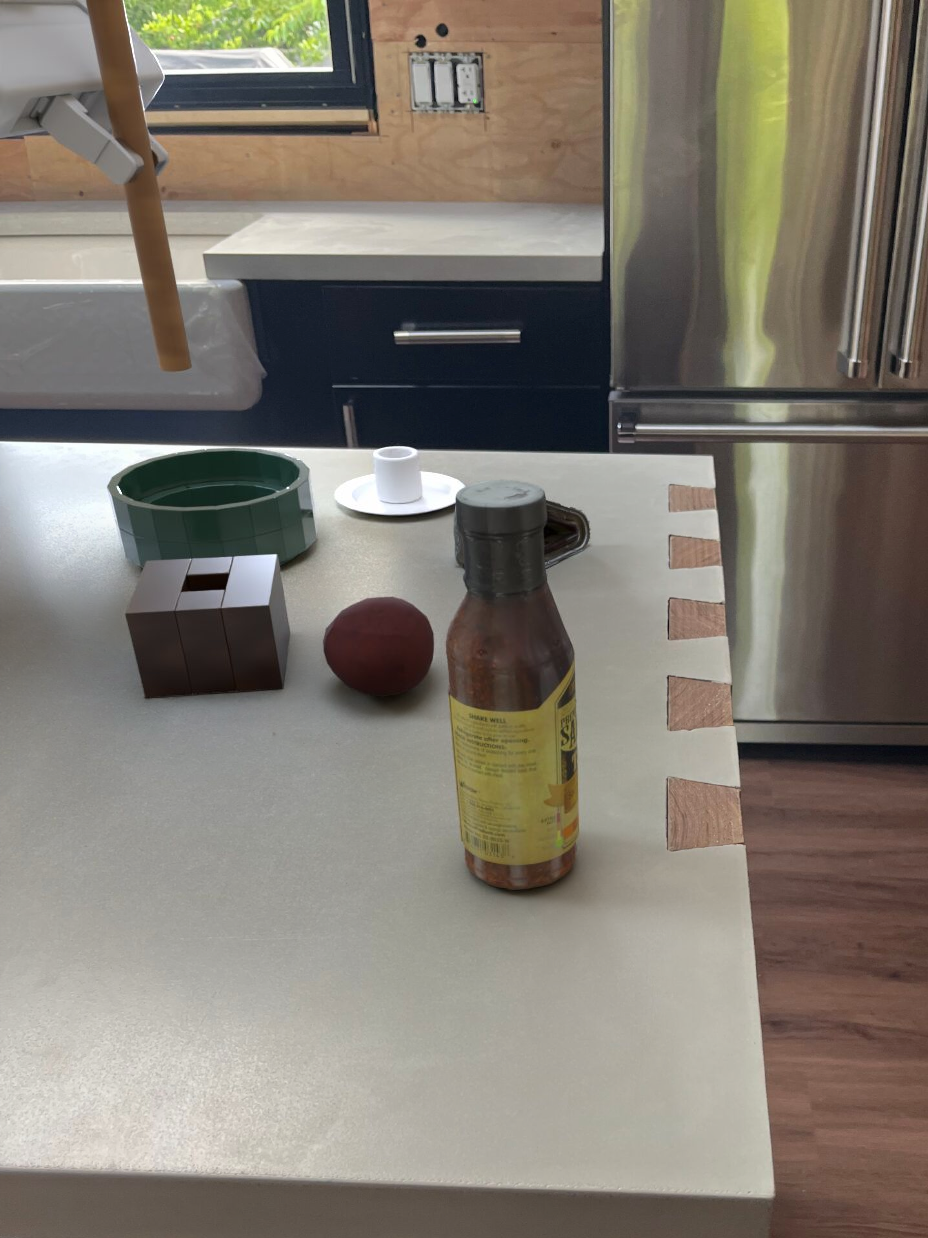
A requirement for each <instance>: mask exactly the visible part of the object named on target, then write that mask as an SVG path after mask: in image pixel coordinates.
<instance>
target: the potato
mask: <svg viewBox="0 0 928 1238" xmlns="http://www.w3.org/2000/svg"><path fill="white" fill-rule="evenodd" d="M322 649H323V655H324V658H325V661H326V664H327V665H328V667H329V669H330V670H331V672H333V674H334V675H335V676H336V678H338V679H339V680H340V681H341V682H342V683H343V684H344V685H345V686H346V687H348V688H349V689H351V690H354V691H356V692H358V693H360V694H362V695H365V696H375V697H386V696H395V695H396V696H397V695H400V694H403V693H406V692H409V691H411V690H413V689H414V688H416V687H417V686H419V685H420V684H421V682H423V680H424V679H425V678H426V677H427V675H428V674H429V671H430V669H431V666H432V663H433V660H434V652H435V633H434V631H433V628H432V625H431V622H430V620H429V618H428V616H427V615H426V614H425V613H423V611H421V610H420V609H419V608H418V607H417V606H415V605H414V604H413V603H411V602H409V601H408V600H405V599H403V598H399V597H397V596H396V597H395V596H380V597H379V596H377V597H366V598H364V599H361V600H360V601H357V602H355V603H353V604H351V605H349V606H347V607H346V608H344V609H342V610H340V612H339V613H338V614H337V616H335V617H334V619H333V620H331V622H330V623H329V624H328V625H327V627H325V631H324V635H323V639H322Z"/></svg>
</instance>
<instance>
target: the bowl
mask: <svg viewBox="0 0 928 1238" xmlns="http://www.w3.org/2000/svg"><path fill="white" fill-rule="evenodd" d="M310 470H311V469H310V468H309V466H308V465H307V464H305V462H303V460H301V459H299V458H296V457H294V456H292V455H290V454H287V453H283V452H279V451H278V452H277V451H272V450H267V449H261V448H245V447H244V448H243V447H221V448H219V447H218V448H201V449H194V450H186V451H178V452H173V453H169V454H163V455H160V456H156V457H150V458H148V459H145V460H142V461H139V462H137V463H134V464H131V465H128V466H127V467H125V468H124V469H122V470H120V471H119V472H117V473H116V474H114V475H113V476H111V478H110V480H109V482H108V483H107V485H106V489H107V493H108V498H109V502H110V506H111V511H112V514H113V518H114V523H115V526H116V532H117V535H118V540H119V544H120V548H121V550H122V553H123V555H124V557H125V559H126V560H128V561H129V562H131V563H133V564H134V565H136V566H138V567H140V568H142V569H143V568H144V566H145V563H146V561H154V560H173V559H197V558H216V557H233V558H234V556H253V555H273V554H278V559H279V565H280V566H282V565H285V564H286V563H289V562H290V561H292V560H293V559H295V558H296V557H298V556H299V555H300V554H301V553H303V552H305V551H307V549H309V548H310V547H311V545H313V543H314V542H316V540H317V538H318V521H317V520H318V519H317V513H316V505H315V499H314V491H313V485H312V477H311V471H310Z"/></svg>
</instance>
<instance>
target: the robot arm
mask: <svg viewBox="0 0 928 1238" xmlns="http://www.w3.org/2000/svg"><path fill="white" fill-rule="evenodd" d="M128 27H129V32H130V37H131V43H132V48H133V54H134V59H135V64H136V70H137V75H138V80H139V86H140V91H141V97H142V102H143V107H144V111H146V110H147V108H148V106H149V105H150V103H151V102H152V100H153V99H154V98H155V96H156V94H157V92H158V91H159V90H160V88H161V86H162V85H163V83H164V80H165V74H164V71H163V68H162V66H161V65H160V63H159V60H158V58H157V57H156V54H154V52H153V51H152V49H150V47H149V46H148V45H147V43H146V42H145V41H144V40H143V39H142V37H140V35H139V34H138V32H136V30H134V28H133V27H132V26H131V25H130V23H128ZM43 132H47V133H48V135H50V136H51V138H53V139H54V140H55V141H56V142H57V143H58V144H59V145H61V146H62V147H64V148H66V149H67V150H69V151H71V152H72V153H74V154H76V155H77V156H79V157H80V158H82V159H84V160H86V161H88V162H89V163H91V164H93V165H95V166H96V167H97V168H98V169H99V170H100V171H101V172H102V173H103V174H104V175H105V176H106V177H107V178H108V179H110V181H111V182H112V183H113V184H115V185H117V186H123V184H127V183H131V182H134V181H135V180H136V178H137V177H138V174H139V173H140V172H141V171H142V169H143V168H144V162H143V159H142V157H141V156H140V155H139V154H138V153H136V152H135V151H133V149H132V147H131V146H130V145H129V144H128V143H127V142H126V141H125V140H124V139H123V138H118V139H115V138H114V137H113V134H112V129H111V124H110V119H109V114H108V109H107V104H106V99H105V94H104V89H103V84H102V79H101V74H100V69H99V64H98V59H97V54H96V49H95V44H94V39H93V34H92V29H91V24H90V20H89V15H88V10H87V5H86V0H0V139H4V138H10V137H11V138H12V137H17V136H23V135H31V134H35V133H43ZM148 134H149V139H150V145H151V150H152V156H153V161H154V166H155V172H156V177H159V176H160V175H161V174H162V173H163V171H164V170H165V169H166V167H167V166H168V164H169V163H170V155H169V153H168V151H167V150H166V149H165V147H163V146H162V144H161V143H159V141H158V140H157V139H156V138H155V137H154V136H152V134H151V133H150V131H149V130H148Z"/></svg>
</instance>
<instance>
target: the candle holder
mask: <svg viewBox="0 0 928 1238" xmlns="http://www.w3.org/2000/svg"><path fill="white" fill-rule="evenodd" d="M372 463H373V472H374V473H372V474H367V475H363V476H359V477H356V478H353V479H351V480H348V481H346V482H345V483H343V484H341V485H339V487H338V488H337V489H335V492H334V499H335V500H336V502H337V503H338V504H340V506H343V507H344V508H347V509H350V510H353V511H355V512H360V513H364V514H372V515H379V516H380V515H381V516H382V515H383V516H411V515H412V516H413V515H420V514H425V513H430V512H433V511H438V510H441V509H445V508H447V507H450V506H452V505H455V504H456V501H455V497H456V494H457V492H458V491H459V490H460V489H462V488H464V487H466V485H465V484H464V483H463V482H462V481H460V480H459V479H457V478H454V477H452V476H449V475H446V474H442V473H438V472H430V471H421V458H420V452H419V451H418V450H417V449H416V448H414V447H411V446H403V445H401V446H400V445H398V446H397V445H394V446H386V447H382V448H381V447H380V448H379V449H376V450H375V451H374V452H373V453H372Z"/></svg>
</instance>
